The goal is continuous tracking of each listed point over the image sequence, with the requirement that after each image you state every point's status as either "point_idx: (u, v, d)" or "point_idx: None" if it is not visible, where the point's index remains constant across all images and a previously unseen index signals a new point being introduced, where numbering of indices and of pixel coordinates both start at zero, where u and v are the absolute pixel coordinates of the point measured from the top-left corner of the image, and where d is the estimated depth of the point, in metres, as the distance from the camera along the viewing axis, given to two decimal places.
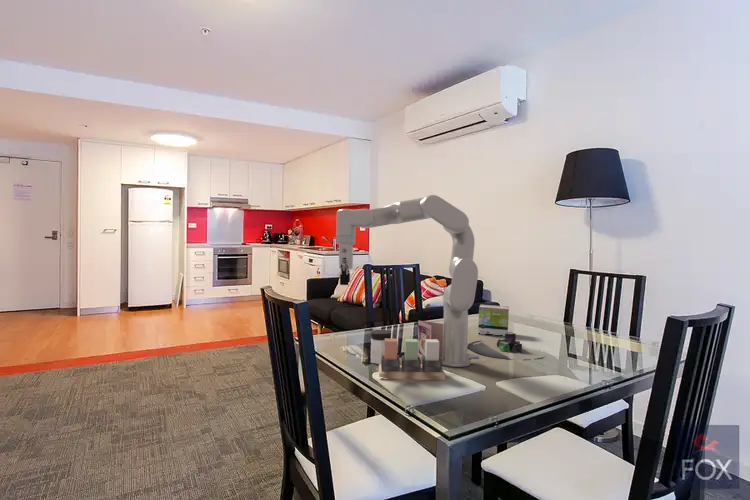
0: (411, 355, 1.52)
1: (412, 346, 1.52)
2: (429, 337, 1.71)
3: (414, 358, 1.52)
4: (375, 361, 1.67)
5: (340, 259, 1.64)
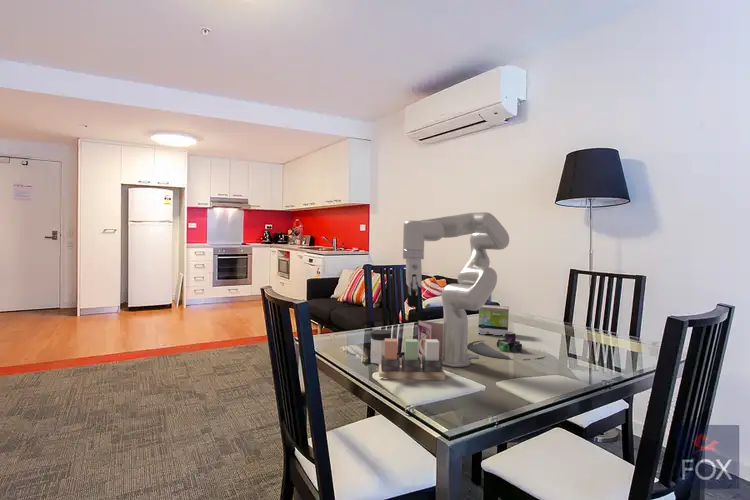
0: (411, 355, 1.52)
1: (412, 346, 1.52)
2: (429, 337, 1.71)
3: (414, 358, 1.52)
4: (375, 361, 1.67)
5: (409, 276, 1.49)
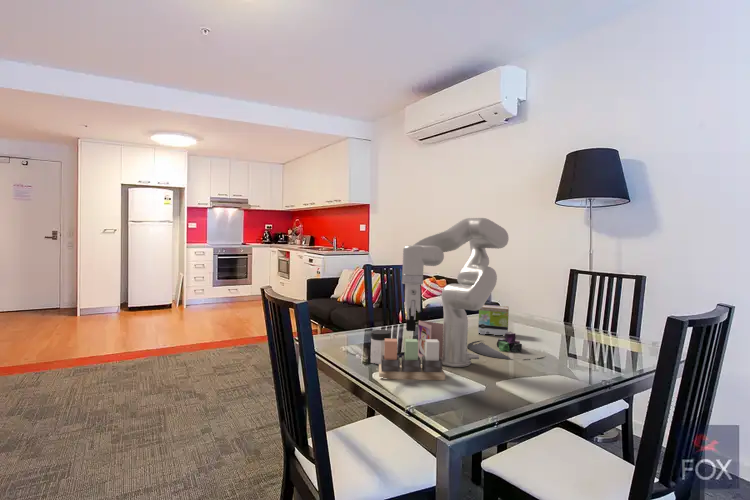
0: (411, 355, 1.52)
1: (412, 346, 1.52)
2: (429, 337, 1.71)
3: (414, 358, 1.52)
4: (375, 361, 1.67)
5: (408, 301, 1.49)
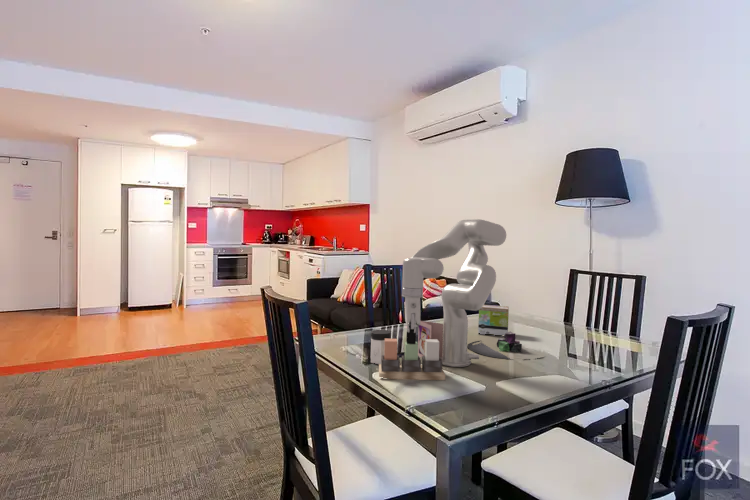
0: (411, 358, 1.52)
1: (412, 349, 1.52)
2: (429, 337, 1.71)
3: None
4: (375, 361, 1.67)
5: (408, 314, 1.49)
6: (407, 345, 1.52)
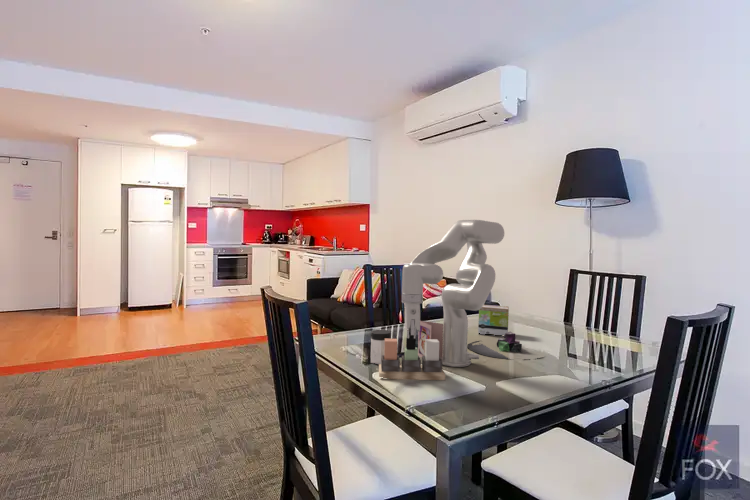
0: None
1: (412, 355, 1.52)
2: (429, 337, 1.71)
3: None
4: (375, 361, 1.67)
5: (408, 321, 1.49)
6: (407, 351, 1.52)
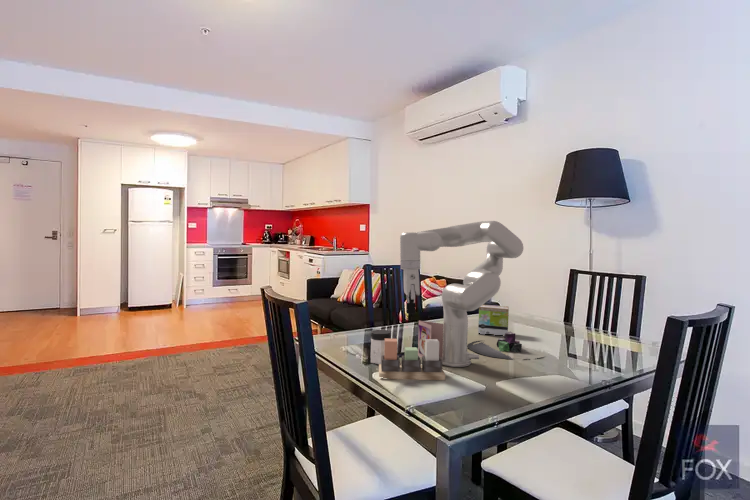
0: None
1: (412, 355, 1.52)
2: (429, 337, 1.71)
3: None
4: (375, 361, 1.67)
5: (408, 286, 1.57)
6: (407, 351, 1.52)
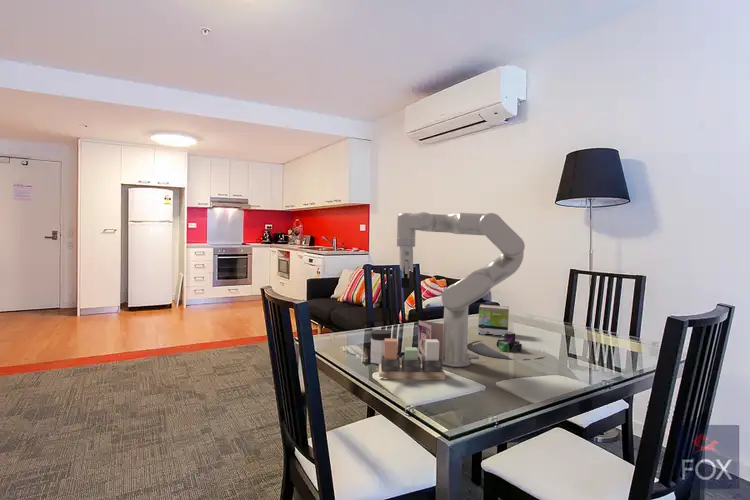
0: None
1: (412, 355, 1.52)
2: (429, 337, 1.71)
3: None
4: (375, 361, 1.67)
5: (402, 261, 1.71)
6: (407, 351, 1.52)
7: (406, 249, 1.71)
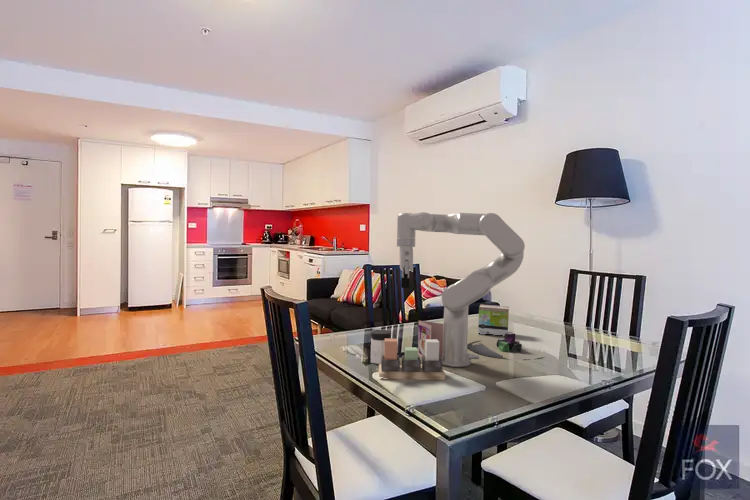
0: None
1: (412, 355, 1.52)
2: (429, 337, 1.72)
3: None
4: (375, 361, 1.67)
5: (402, 261, 1.71)
6: (407, 351, 1.52)
7: (406, 249, 1.71)
